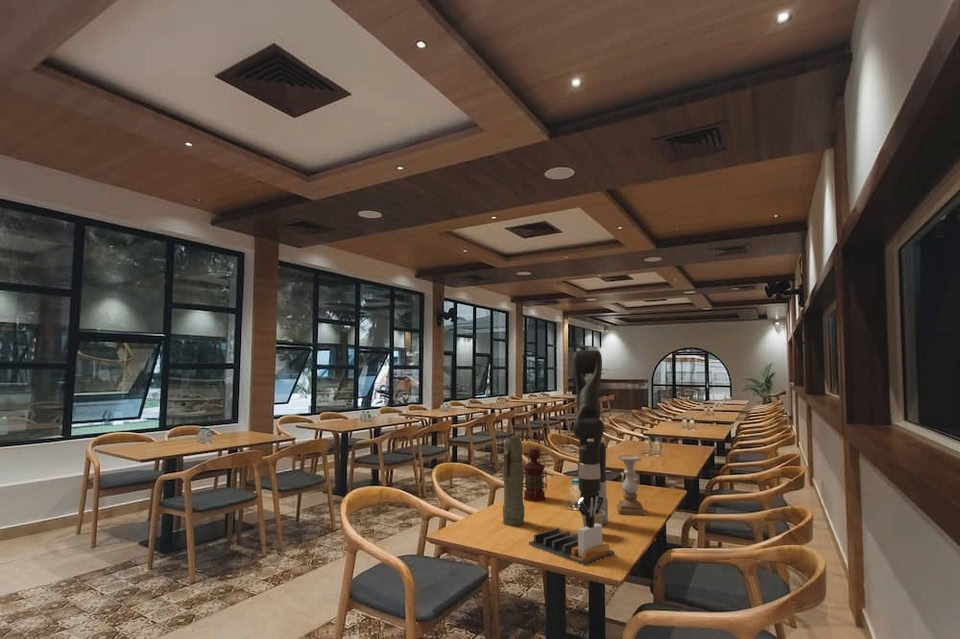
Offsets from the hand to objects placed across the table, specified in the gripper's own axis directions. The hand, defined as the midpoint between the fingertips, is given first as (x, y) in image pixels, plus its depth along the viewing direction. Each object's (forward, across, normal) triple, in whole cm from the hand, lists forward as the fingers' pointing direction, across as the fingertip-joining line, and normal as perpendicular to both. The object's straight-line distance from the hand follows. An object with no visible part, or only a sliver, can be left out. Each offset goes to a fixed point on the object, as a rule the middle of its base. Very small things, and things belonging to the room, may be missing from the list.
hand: (590, 527), depth 185 cm
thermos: (+10, +6, +45) cm, 47 cm away
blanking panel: (+9, 0, 0) cm, 9 cm away
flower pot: (+10, +19, +14) cm, 26 cm away
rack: (+10, 0, +9) cm, 14 cm away
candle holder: (+10, +57, +23) cm, 62 cm away
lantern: (+10, +40, +66) cm, 78 cm away
